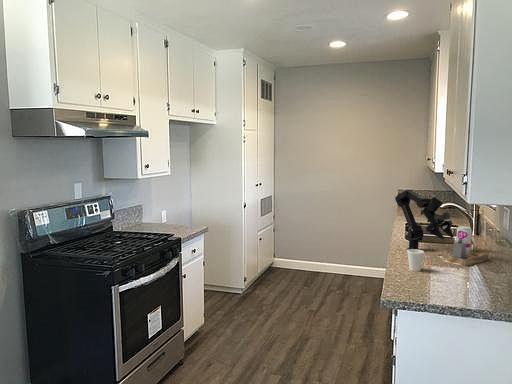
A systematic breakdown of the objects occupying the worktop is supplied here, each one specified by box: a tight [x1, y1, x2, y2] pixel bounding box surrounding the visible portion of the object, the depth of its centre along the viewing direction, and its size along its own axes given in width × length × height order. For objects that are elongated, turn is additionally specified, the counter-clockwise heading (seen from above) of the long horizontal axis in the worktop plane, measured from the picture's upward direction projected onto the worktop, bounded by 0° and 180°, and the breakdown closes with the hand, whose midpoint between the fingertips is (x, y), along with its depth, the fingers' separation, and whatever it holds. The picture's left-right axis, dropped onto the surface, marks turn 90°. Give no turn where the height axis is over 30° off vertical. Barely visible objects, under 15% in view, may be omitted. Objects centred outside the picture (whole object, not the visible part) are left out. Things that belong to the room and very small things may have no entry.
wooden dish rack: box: [440, 251, 489, 267], centre depth 240 cm, size 14×24×5 cm, turn 125°
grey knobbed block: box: [452, 239, 466, 259], centre depth 236 cm, size 4×4×12 cm
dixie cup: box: [406, 249, 425, 272], centre depth 223 cm, size 8×8×10 cm
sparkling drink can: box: [455, 225, 473, 252], centre depth 264 cm, size 8×8×15 cm
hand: (448, 238), depth 241 cm, fingers open, 9 cm apart
